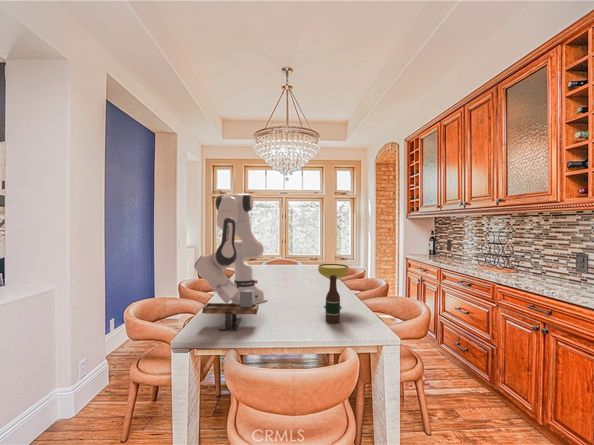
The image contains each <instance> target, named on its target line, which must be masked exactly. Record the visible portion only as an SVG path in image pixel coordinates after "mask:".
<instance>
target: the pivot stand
mask: <svg viewBox="0 0 594 445" xmlns="http://www.w3.org/2000/svg"><path fill="white" fill-rule="evenodd" d="M237 316H238V314H232V312H226V313H225V314H224V320H223V322H222V324H221V326H220V327H219V329H218V330H219V331H218V332H237V330H238V329H239V327H240V324H241V322H242V319H243V318H242V317H237Z"/></svg>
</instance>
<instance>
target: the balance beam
mask: <svg viewBox="0 0 594 445" xmlns="http://www.w3.org/2000/svg"><path fill="white" fill-rule="evenodd" d="M201 311H202V312H201V313H202V314H203V315H205V314H207V315H208V314H211V315H225V313H226V312H232V314H237V315H257V313H258V311H259V303H256V304H253V308H240V304H239V305H237V304H236V303H232V302H230V303H229V302H228V303H225V302H207V303H206V304H205V305H204V306H202V310H201ZM202 314H201V315H202Z"/></svg>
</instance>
